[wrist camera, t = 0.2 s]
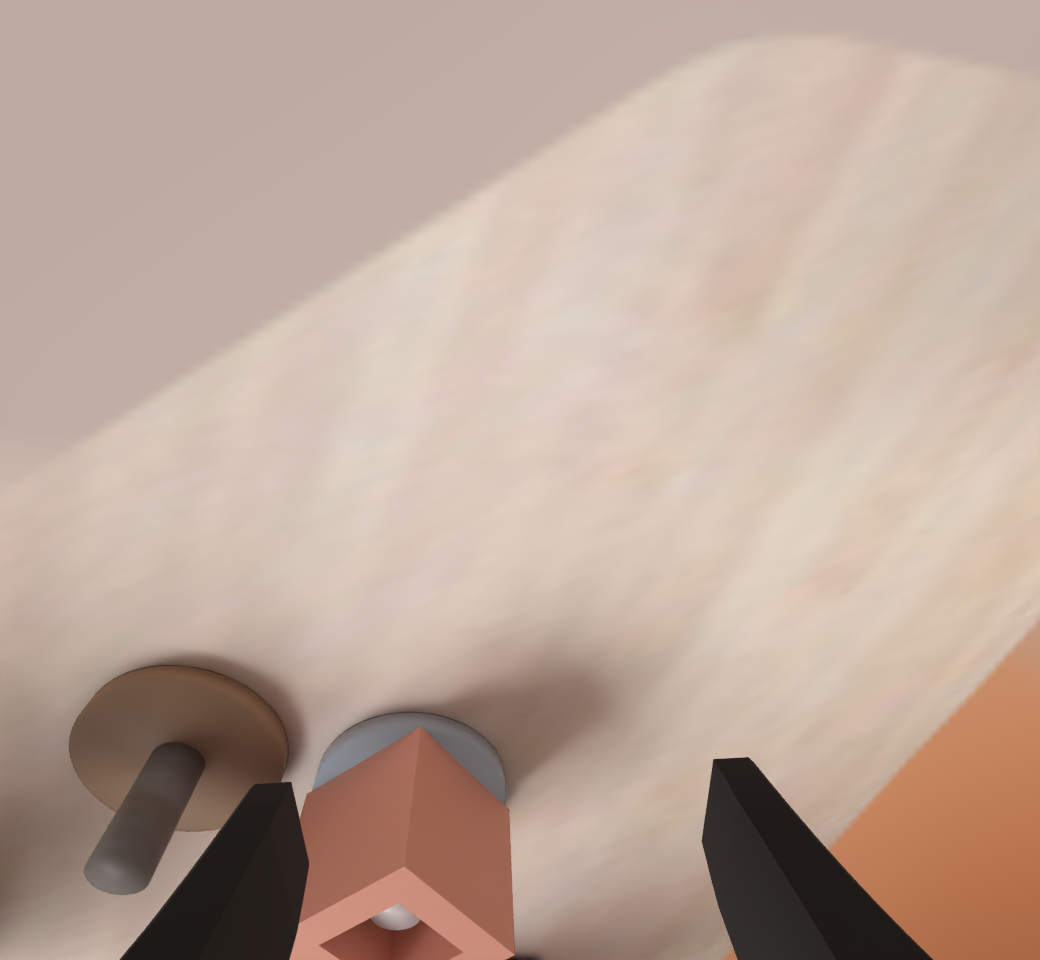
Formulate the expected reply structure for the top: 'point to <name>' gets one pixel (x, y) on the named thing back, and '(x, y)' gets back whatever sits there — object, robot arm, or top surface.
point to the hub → (169, 762)
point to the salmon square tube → (406, 860)
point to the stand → (388, 730)
